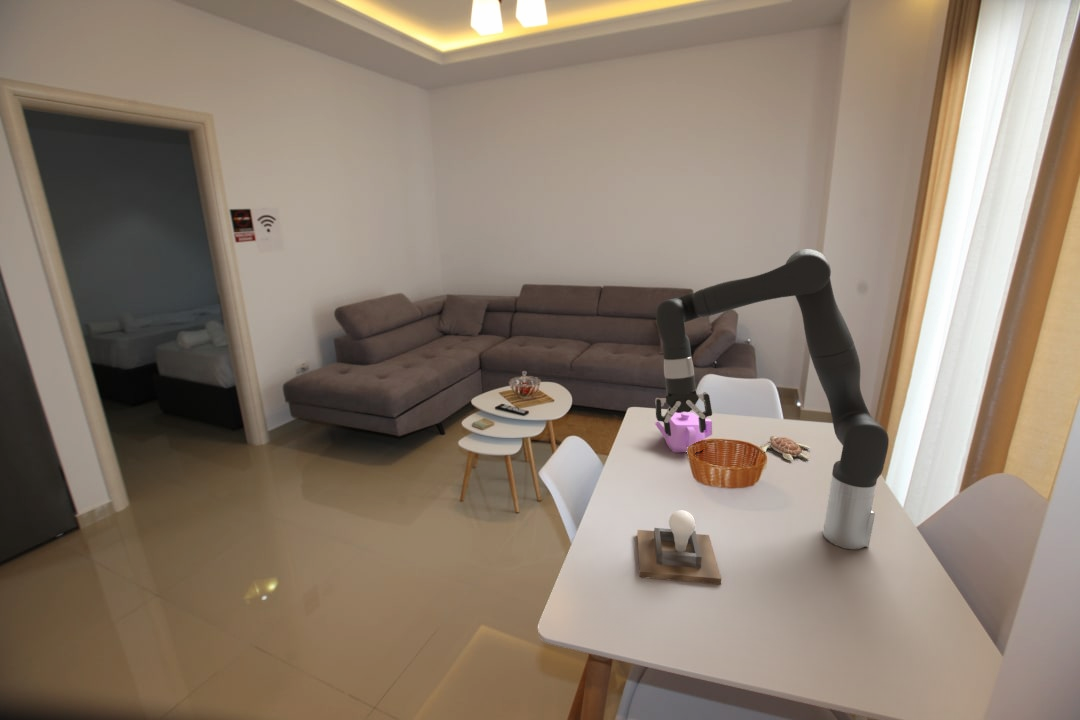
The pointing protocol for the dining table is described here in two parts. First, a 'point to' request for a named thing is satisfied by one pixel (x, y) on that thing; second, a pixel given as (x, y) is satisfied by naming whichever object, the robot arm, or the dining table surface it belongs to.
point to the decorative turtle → (786, 447)
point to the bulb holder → (677, 557)
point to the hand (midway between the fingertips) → (685, 433)
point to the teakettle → (684, 431)
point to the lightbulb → (681, 528)
